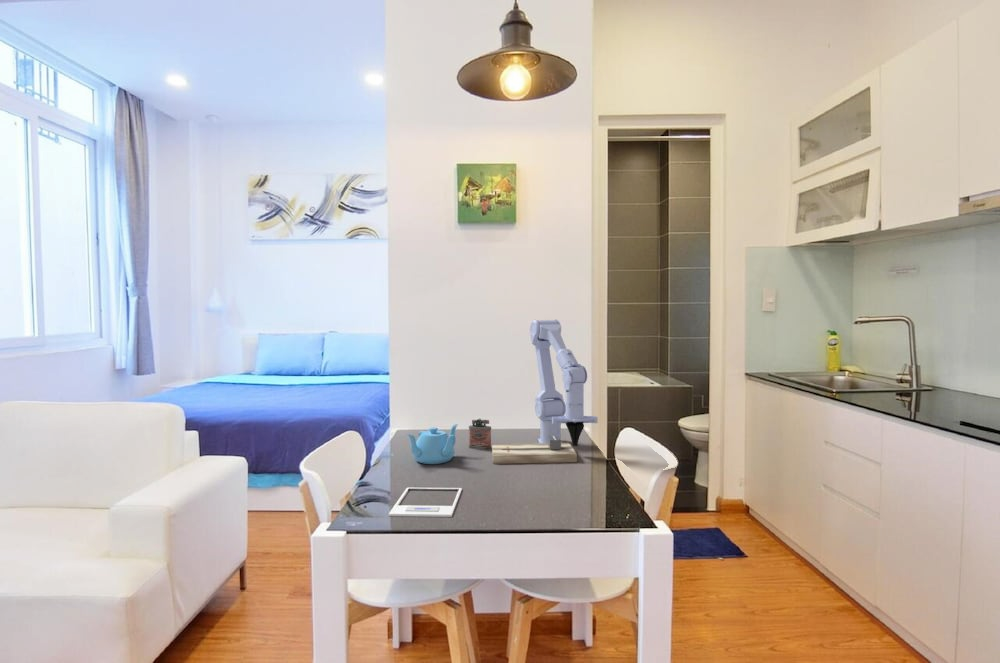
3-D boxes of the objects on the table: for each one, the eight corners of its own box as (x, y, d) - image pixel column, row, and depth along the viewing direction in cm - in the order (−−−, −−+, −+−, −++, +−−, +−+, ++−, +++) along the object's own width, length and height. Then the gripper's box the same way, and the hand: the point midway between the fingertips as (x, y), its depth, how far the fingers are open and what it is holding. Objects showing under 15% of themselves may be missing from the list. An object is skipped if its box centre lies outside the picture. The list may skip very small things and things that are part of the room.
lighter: (467, 448, 176) (467, 419, 176) (470, 445, 180) (470, 417, 179) (489, 450, 174) (489, 420, 174) (492, 447, 177) (492, 418, 177)
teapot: (416, 453, 171) (415, 422, 170) (461, 453, 170) (460, 422, 170) (406, 466, 156) (406, 433, 156) (455, 466, 156) (455, 433, 155)
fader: (547, 445, 168) (547, 435, 168) (558, 445, 168) (558, 435, 168) (550, 449, 163) (550, 439, 163) (561, 449, 163) (561, 439, 163)
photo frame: (388, 513, 118) (407, 486, 136) (388, 517, 118) (407, 490, 136) (451, 513, 117) (461, 487, 135) (451, 518, 117) (461, 491, 135)
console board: (492, 451, 172) (492, 443, 172) (569, 450, 173) (569, 442, 173) (493, 463, 158) (493, 455, 158) (576, 462, 159) (576, 453, 159)
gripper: (554, 406, 161) (554, 449, 162) (599, 405, 162) (599, 448, 162) (550, 402, 168) (551, 443, 169) (594, 401, 169) (594, 442, 169)
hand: (574, 445), depth 166 cm, fingers closed
